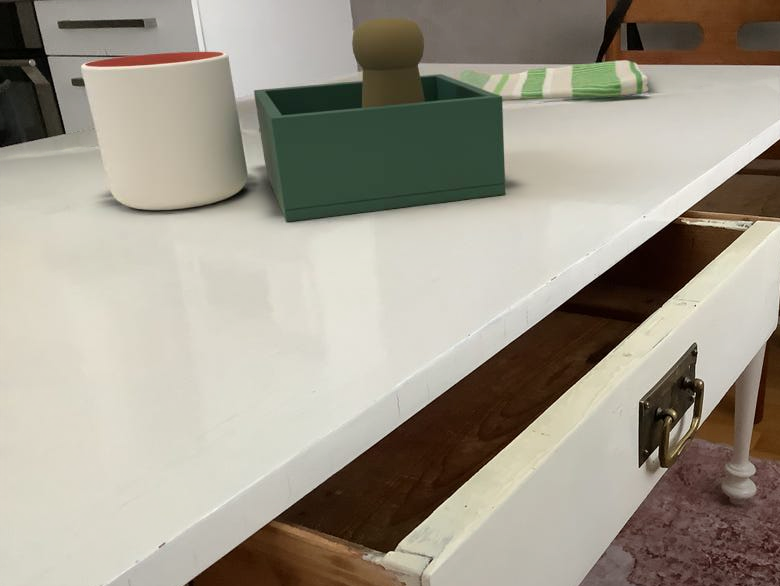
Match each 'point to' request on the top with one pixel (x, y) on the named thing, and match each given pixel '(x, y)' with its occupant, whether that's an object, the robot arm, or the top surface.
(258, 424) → the top surface
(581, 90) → the dish towel
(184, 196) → the cup
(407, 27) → the cork
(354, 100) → the tub
